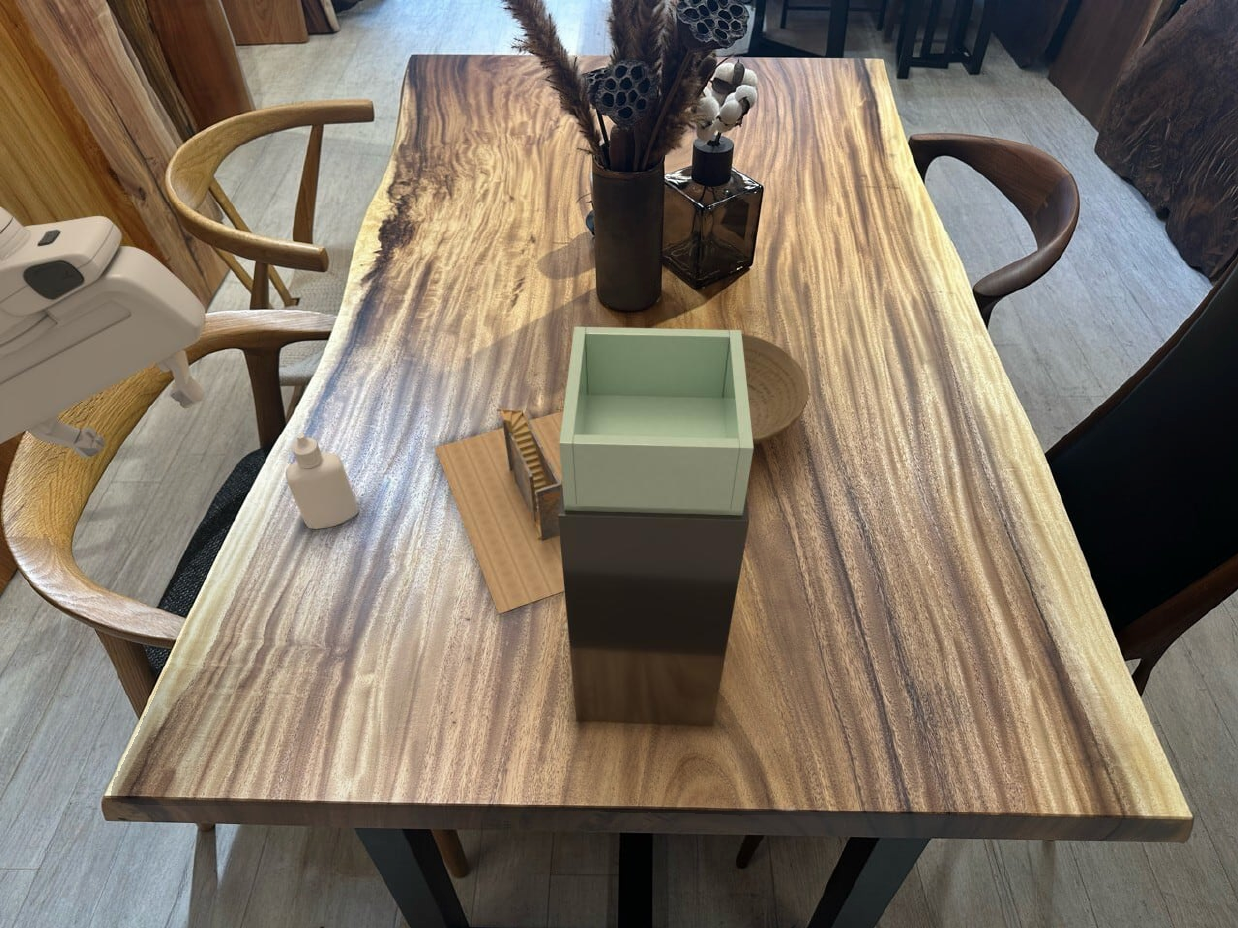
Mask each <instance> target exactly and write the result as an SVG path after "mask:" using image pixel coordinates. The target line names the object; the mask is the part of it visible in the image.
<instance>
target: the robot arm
mask: <svg viewBox="0 0 1238 928" xmlns="http://www.w3.org/2000/svg"><path fill="white" fill-rule="evenodd" d="M122 239H123V235H122V232H121V230H120V229H119V228H118V226H117V225H116V224H115V223H114V222H113V221H112V220H111V219H110V218H109V217H106V216H102V215H93V216H87V217H81V218H75V219H69V220H63V221H57V222H50V223H43V224H34V225H33V224H32V225H27V226H24V225H22V224H21V222H20V221H18V219H16V218H15V217H14V216H13V215H12V214H11V213H10V212H9V211H8V210H7V209H5V208H3V207H2V206H1V205H0V445H2V444H3V443H5V442H7V441H8V440H9V441H10V439H13V438H15V437H17V436H19V435H20V434H22V433H25V432H28V433H29V434H30V435H32V436H33V437H34V438H35V439H36V440H39V441H42V442H46V443H49V444H53V445H57V446H60V447H65V448H69V449H71V450H72V451H73V452H74V453H76V454H77V455H78V456H79V457H81V458H82V459H83V460H88V459H90V458H92V457H94V456H96V455H98V454H99V453H101V452H104V447H105V446H106V444H107V441H106V439H105V437H104V436H103V435H102V434H98V433H97V430H96V429H95V428H93V427H92V426H90V425H89V426H86V427H84V428H82V429H81V428H78V427H76V426H73V425H70V424H68V423H65V422H63V421H60V420H58V419H59V418H60V414H61V413H63V412H65V411H67V410H68V409H71V408H74V407H75V406H76V405H79V404H80V403H82V402H85V401H86V400H88V399H90V398H92V397H94V396H96V395H98V394H100V393H102V392H104V391H106V390H107V389H109V388H111V387H113V386H116V385H117V384H119V383H122V382H123V381H125V380H126V379H127V380H128V379H129V378H131V377H133V376H134V375H136V374H138V373H140V372H142V371H144V370H146V369H148V368H150V367H152V366H154V365H155V366H156V367H157V368H158V369H159V370H160V371H161V372H162V373H165V374H167V373H169V372H171V373H172V376H173V379H174V382H173V384H172V388H171V390H170V393H169V396H170V397H171V399H173V401H175V402H178V403H179V406H180V407H182V408H183V409H189V408H191V407H192V406H194V405H197V404H198V403H200V402H202V401H203V400H204V399H203V398H204V396H205V390H204V388H203V387H202V386H201V385H200V384H199V383H198V382H197V381H196V380H195V379H194V378H193V377H192V376H191V371H190V366H189V362H188V357H187V353H186V350H185V349H187V348H189V347H191V346H193V345H195V344H197V343H198V342H199V341H200V339H201V337H202V335H203V332H204V329H205V326H206V321H207V317H206V314H207V313H206V308H205V306H204V305H203V302H202V301H200V299H199V298H198V297H197V296H196V295H195V293H193V292H192V291H191V290H190V289H189V287H188V286H186V285H185V284H184V283H183V282H182V281H181V280H180V278H178V277H177V276H176V275H175V274H174V273H173V272H172V271H171V270H169V269H168V267H166V266H165V265H164V264H163V263H161V261H159V260H158V259H157V258H156V257H154V256H153V255H151V254H150V253H149V252H146V251H145V250H142V249H141V248H138V247H134V246H129V245H124V246H122V245H121V246H120V244H121V242H122Z"/></svg>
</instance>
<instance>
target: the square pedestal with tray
mask: <svg viewBox="0 0 1238 928" xmlns="http://www.w3.org/2000/svg"><path fill="white" fill-rule="evenodd" d="M742 333H743V332H742V330H741V329H708V328H707V329H703V328H658V327H657V328H656V327H655V328H654V327H610V326H609V327H607V326H574V327H573V335H572V341H571V349H570V357H569V365H568V372H567V381H566V387H565V393H564V394H565V395H564V402H563V409H562V411H563V417H562V424H561V432H560V439H559V449H560V461H561V474H562V483H561V491H560V499H559V507H558V526H559V537H560V548H561V559H562V570H563V581H564V591H563V592H564V603H565V612H566V613H565V614H566V623H567V634H568V636H567V637H568V646H569V657H570V658H569V659H570V669H571V678H572V690H573V691H572V692H573V700H574V711H575V721H576V722H586V723H587V722H588V723H610V724H611V723H613V724H614V723H615V724H641V725H645V724H646V725H665V726H666V725H667V726H695V727H696V726H697V727H713V726H714V724H715V717H716V712H717V706H718V701H719V695H720V690H721V683H722V678H723V672H724V667H725V662H726V661H725V660H726V656H727V650H728V644H729V639H730V632H731V627H732V623H733V622H732V621H733V616H734V609H735V604H736V598H737V593H738V588H739V582H740V577H741V571H742V564H743V559H744V553H745V547H746V542H747V537H748V530H749V525H750V514H749V503H748V492H747V490H748V485H749V479H750V472H751V468H752V467H751V466H752V460H753V454H754V448H755V447H754V445H753V437H752V428H751V419H750V409H749V400H748V390H747V381H746V371H745V362H744V352H743V343H742Z"/></svg>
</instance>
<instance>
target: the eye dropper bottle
mask: <svg viewBox="0 0 1238 928" xmlns="http://www.w3.org/2000/svg"><path fill="white" fill-rule="evenodd" d="M296 440H297V441H296V442H295V443H294V444H293V445H292V449H291V450H292V453H293V455H294V458H295V461H294V462H293V463H291V464H290V465H289V466H288V467H287V468H286V470H285V478H286V481H287V485H288V488H289V489H290V491H291V495H292V496H293V499H294V501H295V503H296V505H297V508H298V510H299V512H300V515H301V517H302V520H303V521H304V523H305V525H306V527H308V528H309V529H313V530H314V529H315V530H318V529H327V528H331V527H335V526H338V525H341V524H343V523H345V522H347V521H349V520H351V519H352V518H354V517H355V516H357V514H358V513H359V505H358V502H357V499H356V496H355V493H354V490H353V487H352V484H351V482H350V480H349V476H348V474H347V471H346V469H345V466H344V463H343V461H342V459H341V457H340V456H339V455H338V454H336V453H330V452H322V451H321V448H320V446H319V443H318V442H317V440H316V439H314V438H312V437H307V436H306V435H305V434H304V433H303V432H302V433H298V434H297V435H296Z"/></svg>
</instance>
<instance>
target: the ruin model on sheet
mask: <svg viewBox="0 0 1238 928" xmlns="http://www.w3.org/2000/svg"><path fill="white" fill-rule="evenodd" d="M496 412H499V413H500V415H501V418H502V419H501V421H502V423H501V424H502V428H498V429H495V430H491V431H487V432H485V433H481V434H477V435H474V436H470V437H466V438H463V439H459V440H456V441H453V442H449V443H446V444H443V445H442V444H441V445H439V446H436V447H434V449H435V453H436V454H437V457H438V459H439V462H440V465H441V468H442V470H443V474H444V475H445V478H446V480H447V484H448V486H449V489H450V491H451V494H452V497H453V499H454V501H455V504H456V507H457V509H458V512H459V515H460V518H461V520H462V522H463V523H462V524H463V525H464V528H465V531H466V533H467V536H468V539H469V541H470V543H471V545H472V549H473V551H474V553H475V556H476V559H477V563H478V564H479V567H480V570H481V572H482V575H483V578H484V581H485V582H486V585H487V587H488V591H489V593H490V595H491V596H490V597H491V598H492V601H493V603H494V606H495V608H496V611H497V614H498V615H499V614H503V613H506V612H509V611H511V610H514V609H516V608H520V607H522V606H525V605H528V604H531V603H534V602H537V601H539V600H542V599H545V598H548V597H551V596H553V595H557V594H560V593H562V592H564V581H563V570H562V559H561V548H560V537H559V526H558V507H559V499H560V491H561V483H562V474H561V461H560V449H559V439H560V432H561V424H562V417H563V410H561V411H558V412H554V413H551V414H547V415H544V416H540V417H537V418H533V419H529V418H528V416H527V415H526V413H525V412H524V410H523V409H503V408H496Z"/></svg>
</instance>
